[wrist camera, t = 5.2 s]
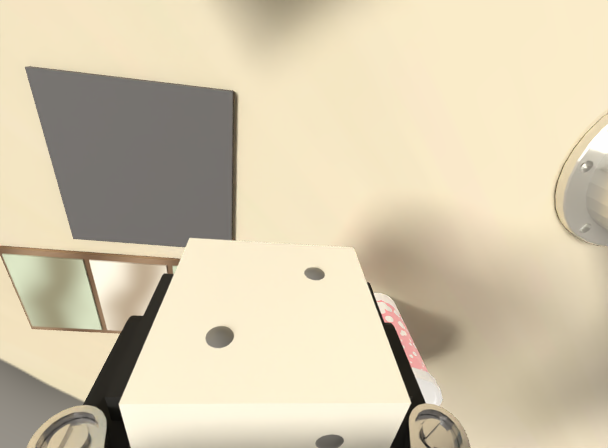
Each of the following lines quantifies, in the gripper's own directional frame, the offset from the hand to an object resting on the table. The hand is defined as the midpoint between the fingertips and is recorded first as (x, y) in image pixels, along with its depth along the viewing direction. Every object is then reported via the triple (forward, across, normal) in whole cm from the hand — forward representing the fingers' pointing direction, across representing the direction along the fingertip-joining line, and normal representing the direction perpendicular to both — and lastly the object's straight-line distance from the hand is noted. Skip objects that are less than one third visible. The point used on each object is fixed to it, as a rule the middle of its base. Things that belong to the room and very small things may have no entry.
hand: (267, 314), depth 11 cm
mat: (+15, +9, +1) cm, 17 cm away
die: (+1, 0, 0) cm, 1 cm away
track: (+15, +8, +13) cm, 21 cm away
